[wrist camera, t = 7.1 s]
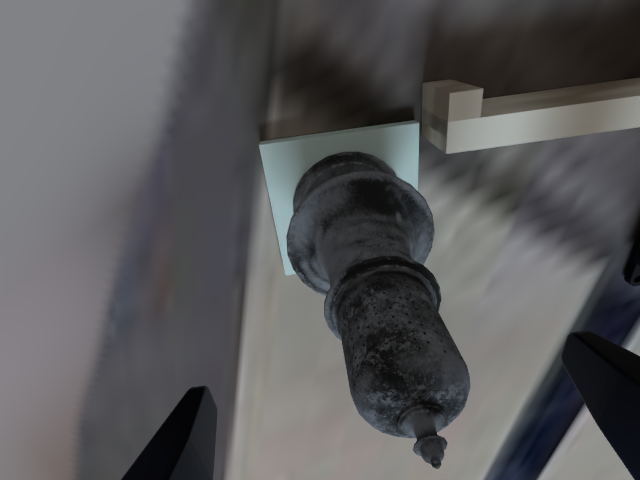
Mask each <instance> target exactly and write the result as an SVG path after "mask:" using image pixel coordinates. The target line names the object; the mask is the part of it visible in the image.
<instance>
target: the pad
mask: <svg viewBox="0 0 640 480" xmlns="http://www.w3.org/2000/svg"><path fill="white" fill-rule="evenodd" d="M259 148H260V153H261V158H262V163H263V167H264V172H265V177H266V182H267V187H268V192H269V197H270V201H271V206H272V211H273V216H274V221H275V226H276V231H277V235H278V240H279V245H280V250H281V255H282V260H283V264H284V269H285V274H286V275H293V274H296V273H295V271H294V270H293V268H292V265H291V263H290V260H289V257H288V255H287V239H286V236H287V232H288V228H289V224H290V220H291V218H292V216H293V214H294V209H293V199H294V195H295V191H296V187H297V186H298V184H299V182H300V180H301V178H302V177H303V175H304V174H305V173H306V172H307V171H308V170H309V169H310V168H311V167H312V166H313V165H314V164H315V163H317V162H319V161H320V160H322V159H324V158H325V157H327V156H330V155H333V154H337V153H340V152H356V151H358V152H362V153H366V154H370V155H373V156H375V157H377V158H379V159H380V160H382V161H384V162H385V163H386V164H387V165H388V166H389V167H390V168H391V169H392V170H393V171H394V172H395V174H396V176H397V177H399V178H400V179H402V180H404V181H406V182H407V183H409V184H411V185H412V186H413V187H414V188H415V189H416V190H417V191H418V156H419V122H417V121H416V120H411V121H404V122H397V123H390V124H382V125H375V126H368V127H361V128H353V129H346V130H339V131H332V132H325V133H317V134H310V135H303V136H296V137H288V138H281V139H274V140H267V141H260V143H259Z"/></svg>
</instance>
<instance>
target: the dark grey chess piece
mask: <svg viewBox="0 0 640 480" xmlns="http://www.w3.org/2000/svg"><path fill="white" fill-rule="evenodd" d="M293 209H294V214H293V216H292V218H291V220H290V224H289V228H288V232H287V236H286V239H287V255H288V257H289V260H290V263H291V265H292V268H293V270H294V271H295V273H296V274H297V275H298V276H299V278H300V279H301V280H302V282H303V283H305V284H306V285H307V286H309V287H310V288H311V289H313V290H314V291H316V292H318V293H320V294H322V295H325V296H326V299H325V302H324V315H325V319H326V321H327V324H328V327H329V328H330V330H331V331H332V332H333V334H334V335H335V336H336V337H337V338H339V339H340V340H342V345H343V351H344V357H345V363H346V369H347V375H348V380H349V386H350V392H351V395H352V398H353V401H354V404H355V406H356V408H357V410H358V413H359V414H360V415H361V416H362V417H363V418H364V420H365V421H367V422H368V423H369V424H370V425H371V426H373V427H374V428H375V429H377V430H379V431H381V432H382V433H386V434H389V435H392V436H397V437H404V438H417V442H416V443H415V444H414V448H413V451H414V452H415V453H416V454H417V455H419V456H422V458H423V459H424V460H425V462H427V463H430V464H431V465H432V466H433V467H434V468H436V469H438V468H440V466H441V461H442V459H443V457H444V449H446V446H447V441H446V440H445V438H443V437H441V436H438V435H437V432H438V431H440V430H442V429H443V428H445V427H446V426H447V425H449V424H450V423H451V422H452V421H453V420H454V419H455V418H456V417H457V416H458V415H459V414H460V413H461V411H462V410H463V408H464V407H465V404H466V401H467V397H468V394H469V390H470V377H469V373H468V369H467V365H466V363H465V362H464V360H463V358H462V356H461V354H460V352H459V350H458V348H457V347H456V345H455V343H454V341H453V339H452V337H451V335H450V333H449V332H448V330H447V328H446V326H445V324H444V322H443V320H442V318H441V317H440V315H439V313H438V311H439V307H440V302H441V294H440V287H439V285H438V283H437V281H436V279H435V277H434V275H433V274H432V273H431V272H430V271H429V270H428V269H427V268H426V267H425V266H424V265H423V264H424V263H425V261H426V259H427V256H428V254H429V252H430V250H431V248H432V242H433V237H434V224H433V215H432V213H431V211H430V209H429V206H428V204H427V202H426V200H425V198H424V197H423V196H422V195H421V194H420V193H419V192H418V191H417V190H416V189H415V188H414V187H413V186H412V185H411V184H409V183H407V182H406V181H404V180H402V179H400V178H399V177H397V176H396V174H395V172H394V171H393V170H392V169H391V168H390V167H389V166H388V165H387V164H386V163H385V162H384V161H382V160H380V159H379V158H377V157H375V156H373V155H370V154H366V153H362V152H358V151H356V152H340V153H337V154H333V155H330V156H327V157H325V158H324V159H322V160H320V161H319V162H317V163H315V164H314V165H313V166H312V167H311V168H310V169H309V170H308V171H307V172H306V173H305V174H304V175H303V177H302V178H301V180H300V182H299V184H298V186H297V187H296V191H295V195H294V199H293Z"/></svg>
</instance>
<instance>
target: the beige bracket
mask: <svg viewBox="0 0 640 480" xmlns="http://www.w3.org/2000/svg"><path fill="white" fill-rule="evenodd" d="M482 97H483V88H480V87H476V86H473V85H469V84H466V83H462V82H459V81H455V80H452V79H448V80H440V81H433V82H426V83H423V88H422V126H421V135H422V136H423V137H425V138H426V139H427V140H429V141H430V142H431V143H433V144H434V145H435V146H436V147H438V148H439V149H440V150H442V151H443V152H444V153H445V154H450V153H457V152H464V151H471V150H479V149H486V148H493V147H500V146H507V145H515V144H522V143H529V142H536V141H543V140H551V139H558V138H565V137H572V136H579V135H587V134H594V133H601V132H608V131H616V130H623V129H630V128H637V127H640V77H638V78H631V79H624V80H617V81H609V82H602V83H595V84H588V85H581V86H573V87H566V88H559V89H552V90H544V91H537V92H530V93H523V94H515V95H508V96H501V97H494V98H486V99H482Z"/></svg>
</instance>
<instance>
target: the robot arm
mask: <svg viewBox="0 0 640 480" xmlns="http://www.w3.org/2000/svg"><path fill="white" fill-rule="evenodd" d="M624 279H625V281H626V282H628V283H629V284H630V285H632V286H638V285H640V238H639V241H638V243H637V246H636V249H635V251H634V254H633V256H632V259H631V261H630V264H629V266H628V269H627V272H626V274H625V277H624ZM562 362H563V364H564V367H565V368H566V370H567V372H568V374H569V375H570V377H571V379H572V381H573V383H574V384H575V386H576V388H577V390H578V392H579V393H580V395H581V397H582V399H583V401H584V402H585V404H586V406H587V408H588V410H589V411H590V413H591V415H592V417H593V418H594V420H595V422H596V423H597V425H598V426H599V428H600V430H601V431H602V433H603V434H604V436H605V437H606V439H607V440H608V441H609V443H610V444H611V446H612V447H613V449H614V450H615V452H616V453H617V455H618V456H619V457H620V459H621V460H622V462H623V463H624V465H625V466H626V468H627V469H628V471H629V472H630V474H631V475H632V476H633V478H634V479H635V480H640V356H638V355H636V354H634V353H632V352H630V351H628V350H626V349H624V348H622V347H620V346H618V345H617V344H615V343H613V342H611V341H609V340H607V339H605V338H603V337H601V336H599V335H597V334H595V333H593V332H591V331H587V330H583V331H576V332H571V333H569V334H568V336H567V339H566V342H565V345H564V348H563V351H562ZM216 427H217V407H216V404H215V402H214V399H213V397H212V395H211V392H210V390H209V388H208V387H207V386H199V387H193V388H190V389H189V390H188V391H187V392H186V394H185V395H184V396H183V398H182V399H181V400H180V402H179V403H178V404H177V406H176V407H175V408H174V410H173V411H172V412H171V414H170V415H169V416H168V418H167V419H166V420H165V422H164V423H163V424H162V426H161V427H160V428H159V430H158V431H157V432H156V434H155V435H154V436H153V438H152V439H151V440H150V442H149V443H148V444H147V446H146V447H145V448H144V450H143V451H142V452H141V454H140V455H139V456H138V458H137V459H136V460H135V462H134V463H133V464H132V466H131V467H130V468H129V470H128V471H127V472H126V474H125V475H124V476H123V478H122V479H121V480H213V472H214V457H215V442H216Z"/></svg>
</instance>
